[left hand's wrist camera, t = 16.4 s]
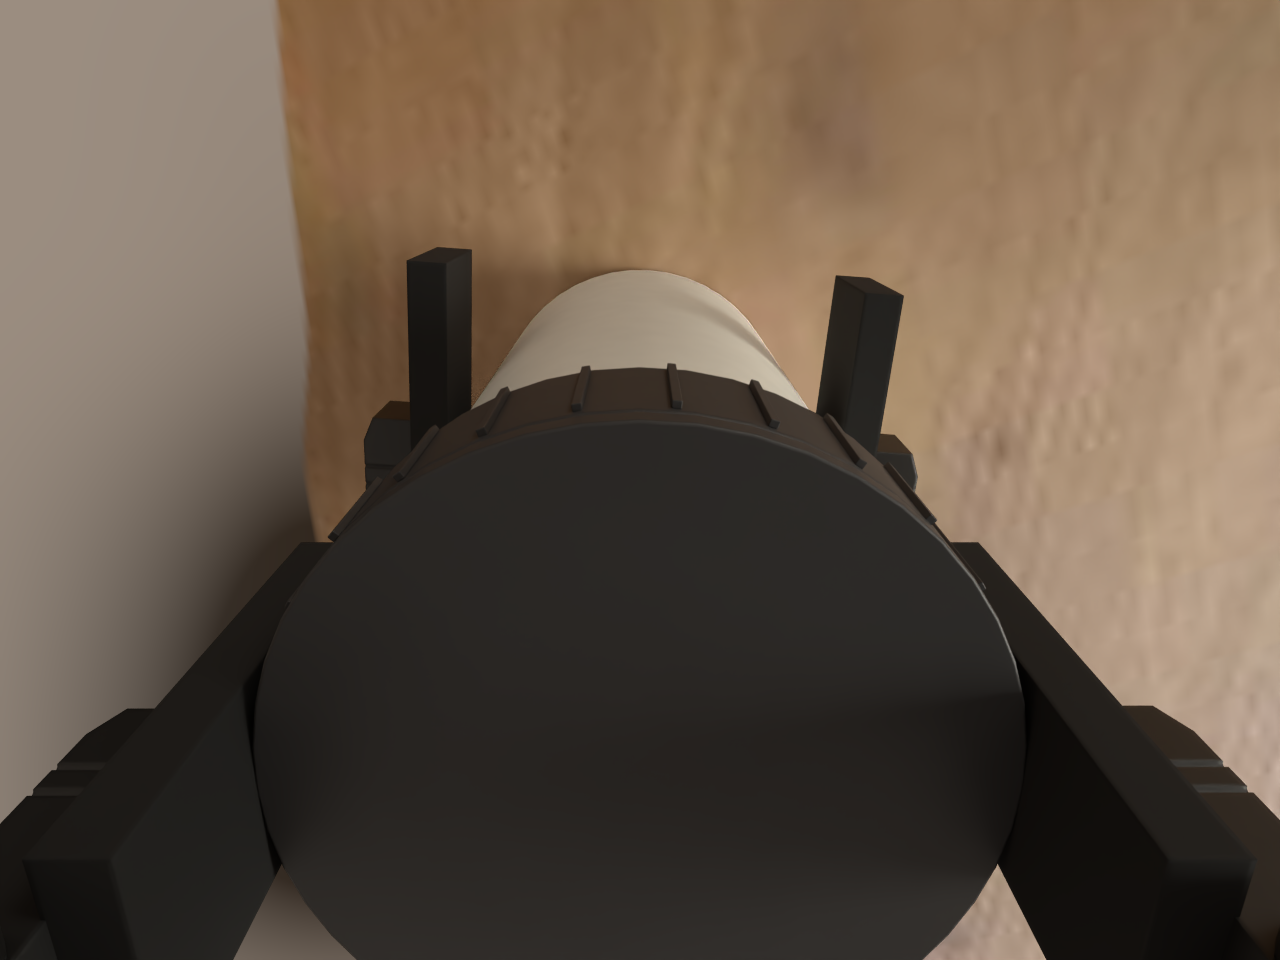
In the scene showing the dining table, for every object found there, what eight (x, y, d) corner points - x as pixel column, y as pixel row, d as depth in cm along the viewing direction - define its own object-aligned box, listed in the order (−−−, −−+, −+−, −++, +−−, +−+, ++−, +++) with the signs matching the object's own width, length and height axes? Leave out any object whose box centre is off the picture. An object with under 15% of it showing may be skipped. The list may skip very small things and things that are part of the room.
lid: (279, 854, 14) (207, 994, 11) (371, 275, 11) (298, 308, 8) (835, 966, 14) (871, 1119, 12) (1067, 459, 11) (1174, 535, 9)
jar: (523, 243, 24) (339, 378, 9) (809, 301, 25) (1064, 514, 10) (483, 510, 27) (292, 944, 12) (741, 557, 27) (861, 1027, 13)
